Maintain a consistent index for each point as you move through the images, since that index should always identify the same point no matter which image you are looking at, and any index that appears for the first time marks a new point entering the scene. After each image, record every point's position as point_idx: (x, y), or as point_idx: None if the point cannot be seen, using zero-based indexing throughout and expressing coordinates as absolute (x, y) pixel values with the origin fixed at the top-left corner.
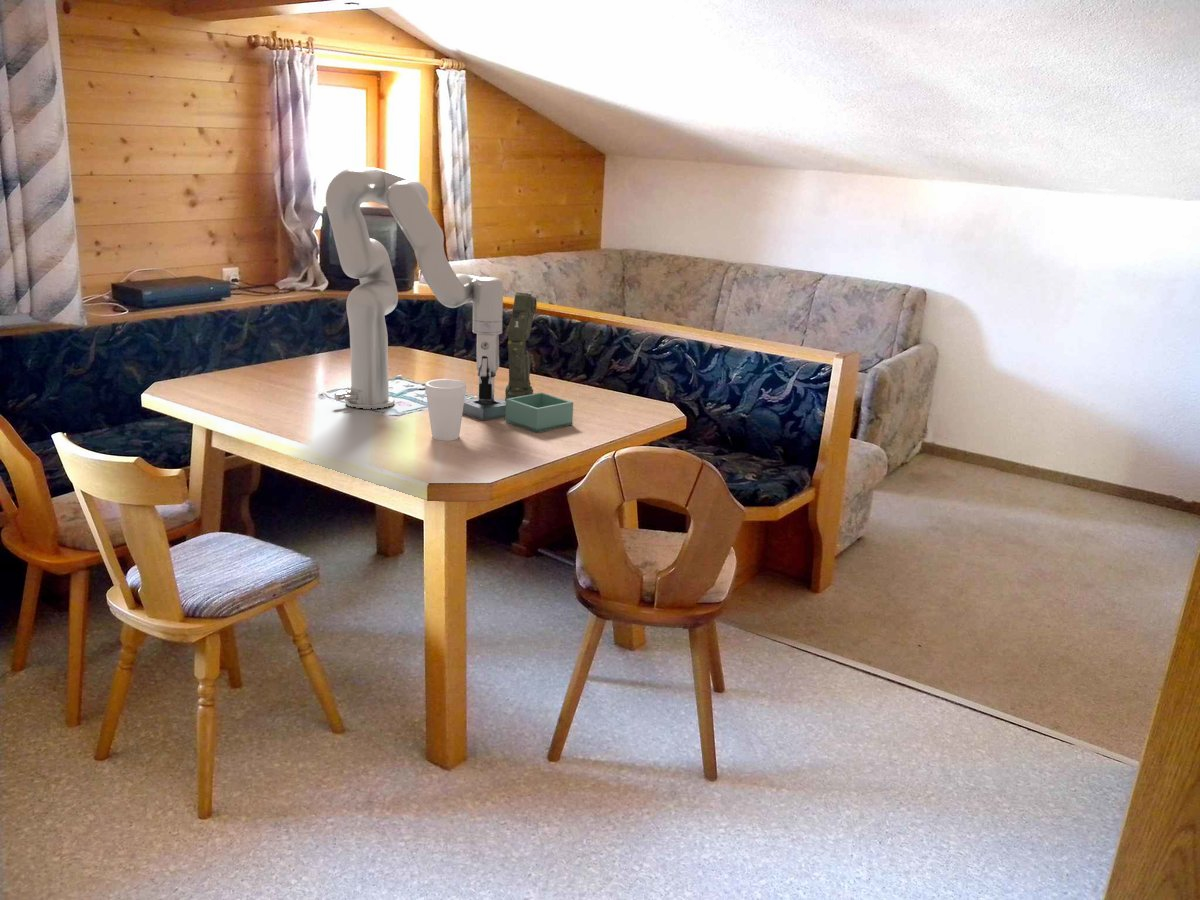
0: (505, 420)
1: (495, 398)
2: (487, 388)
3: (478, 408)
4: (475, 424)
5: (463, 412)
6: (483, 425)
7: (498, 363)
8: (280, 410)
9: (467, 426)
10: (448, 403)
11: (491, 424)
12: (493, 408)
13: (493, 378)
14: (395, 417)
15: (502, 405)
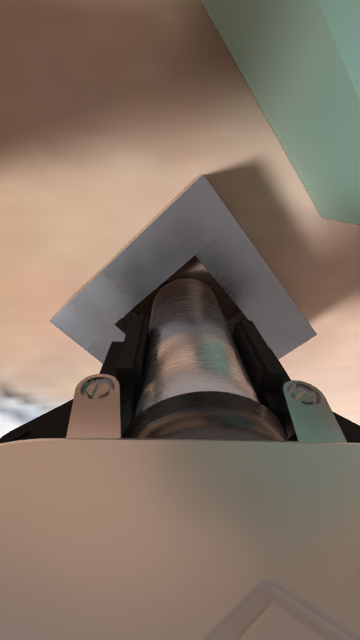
0: (325, 218)
1: (97, 289)
2: (287, 378)
3: (285, 352)
4: (337, 333)
5: None
6: (356, 306)
7: (99, 512)
8: None
9: (357, 355)
10: None
11: (348, 277)
12: (284, 289)
13: (236, 390)
14: None
15: (245, 246)
